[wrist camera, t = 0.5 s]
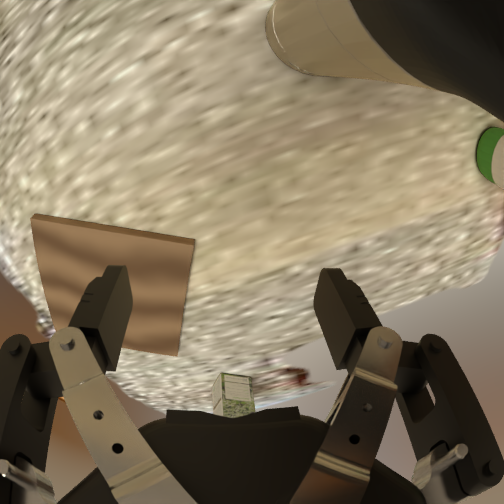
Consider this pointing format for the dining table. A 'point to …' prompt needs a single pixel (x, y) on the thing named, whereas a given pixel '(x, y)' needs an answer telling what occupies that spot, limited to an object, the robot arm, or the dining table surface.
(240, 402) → the syrup box
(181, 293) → the walnut board
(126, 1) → the dining table surface
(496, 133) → the wine bottle
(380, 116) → the dining table surface
